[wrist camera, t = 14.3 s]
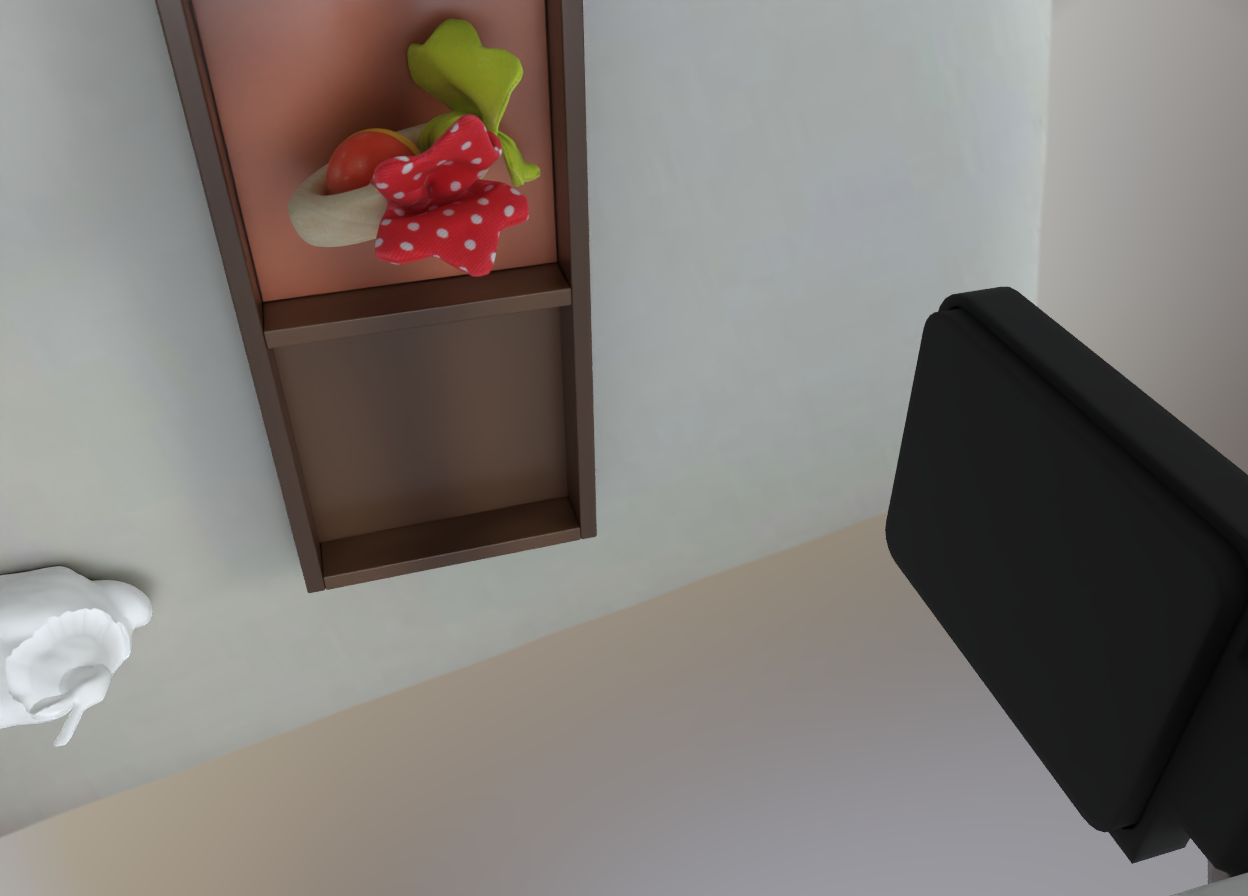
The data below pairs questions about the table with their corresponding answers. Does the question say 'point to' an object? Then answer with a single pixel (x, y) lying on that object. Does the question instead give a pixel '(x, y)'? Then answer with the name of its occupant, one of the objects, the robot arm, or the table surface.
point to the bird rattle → (427, 166)
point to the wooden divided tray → (399, 285)
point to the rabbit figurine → (62, 643)
